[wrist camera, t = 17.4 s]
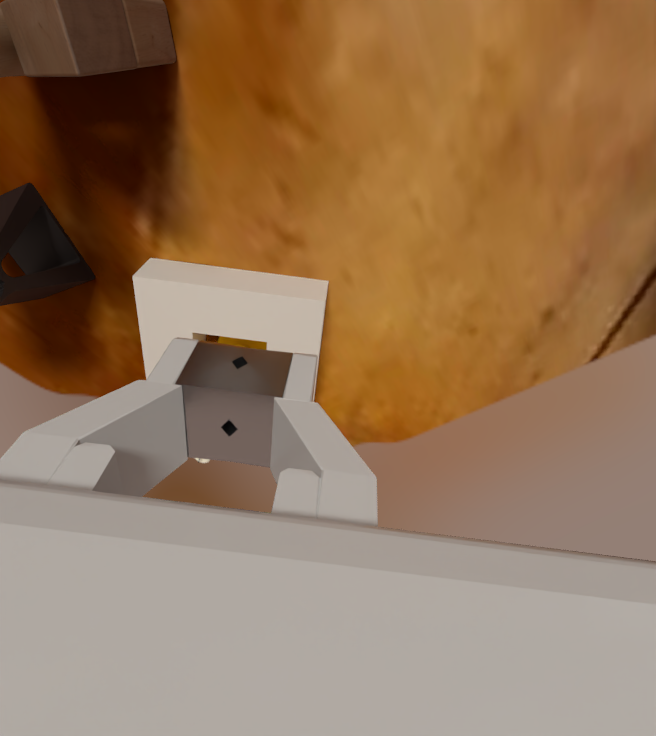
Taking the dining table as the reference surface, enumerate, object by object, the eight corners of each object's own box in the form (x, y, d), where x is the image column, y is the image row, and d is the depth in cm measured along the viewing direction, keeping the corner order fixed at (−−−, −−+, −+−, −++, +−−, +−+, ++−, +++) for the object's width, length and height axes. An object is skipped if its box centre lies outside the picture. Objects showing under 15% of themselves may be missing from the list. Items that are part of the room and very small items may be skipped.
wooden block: (179, 63, 34) (34, 83, 19) (36, 73, 35) (-206, 101, 20) (165, -3, 32) (-8, -37, 17) (14, 11, 33) (-274, -10, 18)
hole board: (328, 281, 43) (325, 301, 39) (312, 416, 52) (308, 441, 48) (150, 257, 42) (132, 276, 39) (165, 397, 52) (152, 421, 48)
